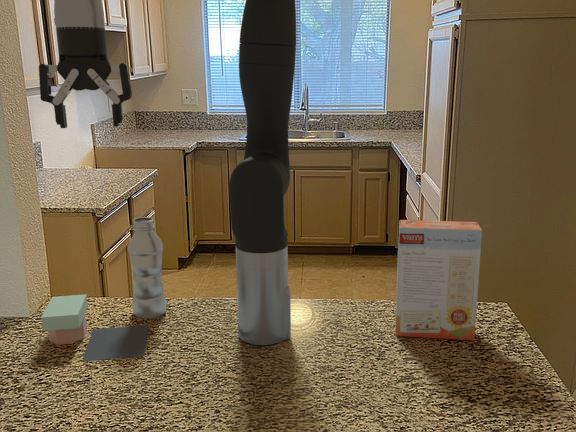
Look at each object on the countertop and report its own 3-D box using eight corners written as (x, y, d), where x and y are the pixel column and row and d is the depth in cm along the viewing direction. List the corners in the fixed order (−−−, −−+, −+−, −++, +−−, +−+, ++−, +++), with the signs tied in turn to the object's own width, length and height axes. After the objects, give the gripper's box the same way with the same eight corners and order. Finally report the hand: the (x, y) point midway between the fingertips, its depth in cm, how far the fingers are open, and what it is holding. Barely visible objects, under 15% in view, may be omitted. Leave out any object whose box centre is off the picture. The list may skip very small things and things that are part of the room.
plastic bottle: (140, 309, 115) (132, 214, 110) (172, 311, 114) (166, 215, 109) (127, 323, 109) (118, 223, 104) (161, 325, 108) (153, 224, 103)
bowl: (88, 332, 105) (86, 310, 104) (83, 347, 100) (80, 324, 99) (54, 335, 104) (52, 312, 103) (47, 350, 99) (44, 327, 98)
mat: (148, 329, 106) (148, 324, 106) (144, 361, 95) (144, 355, 95) (93, 334, 105) (93, 329, 104) (82, 367, 93) (81, 361, 93)
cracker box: (470, 327, 106) (478, 220, 101) (474, 342, 100) (484, 229, 95) (394, 322, 109) (399, 217, 103) (394, 336, 103) (399, 226, 97)
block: (87, 306, 106) (86, 294, 105) (79, 327, 97) (78, 314, 97) (54, 309, 105) (52, 296, 104) (42, 330, 96) (41, 317, 96)
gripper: (128, 27, 96) (135, 124, 100) (39, 27, 94) (50, 126, 98) (123, 24, 89) (131, 128, 93) (27, 24, 86) (40, 130, 91)
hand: (90, 127), depth 95 cm, fingers open, 8 cm apart
